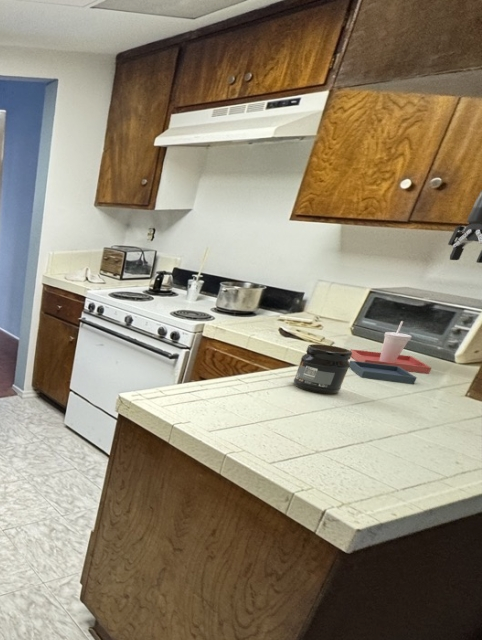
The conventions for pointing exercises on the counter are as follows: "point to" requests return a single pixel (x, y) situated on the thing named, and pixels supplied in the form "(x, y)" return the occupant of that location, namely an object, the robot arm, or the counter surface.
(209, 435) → the counter surface
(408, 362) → the rose tray
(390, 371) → the slate tray
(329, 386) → the supplement container
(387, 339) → the smoothie
